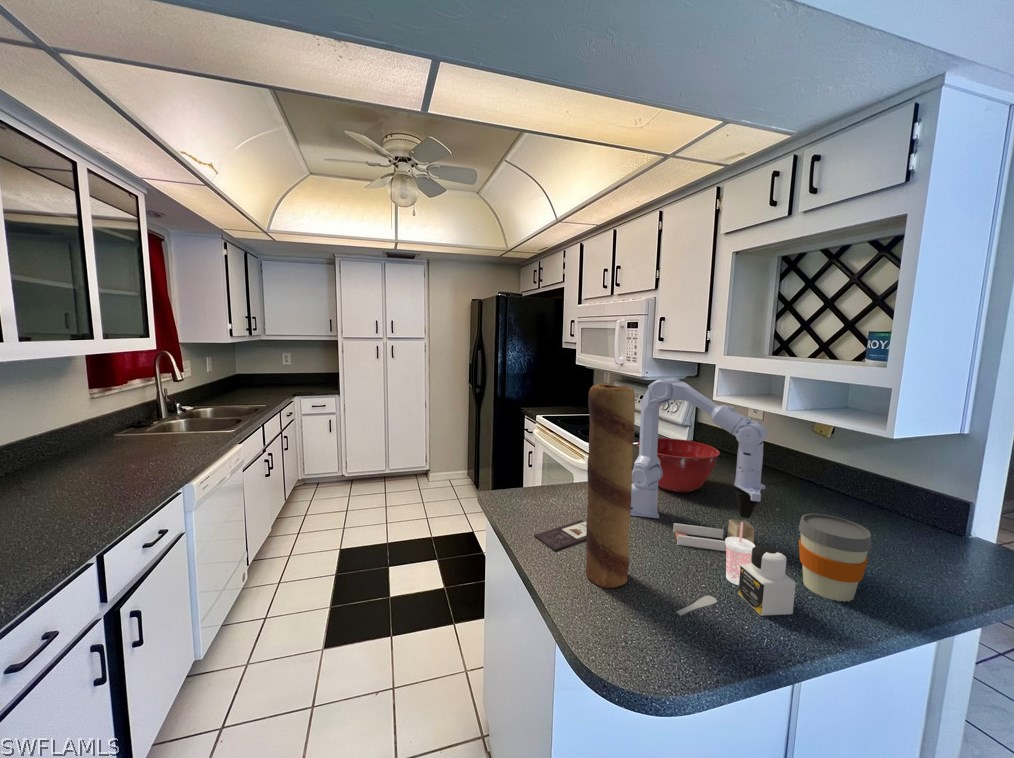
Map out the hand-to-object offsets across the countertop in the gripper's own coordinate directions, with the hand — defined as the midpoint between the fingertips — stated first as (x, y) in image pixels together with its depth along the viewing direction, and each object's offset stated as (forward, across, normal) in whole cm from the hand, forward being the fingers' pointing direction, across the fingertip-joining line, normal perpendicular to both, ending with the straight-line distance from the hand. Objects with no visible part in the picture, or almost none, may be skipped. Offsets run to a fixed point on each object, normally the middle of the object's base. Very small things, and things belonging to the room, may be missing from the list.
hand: (744, 516), depth 107 cm
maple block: (+8, +1, 0) cm, 9 cm away
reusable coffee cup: (+9, -15, -13) cm, 22 cm away
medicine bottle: (+9, -25, +2) cm, 27 cm away
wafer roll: (+9, -25, +36) cm, 44 cm away
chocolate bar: (+9, -8, +46) cm, 47 cm away
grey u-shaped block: (+8, 0, +10) cm, 13 cm away
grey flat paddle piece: (+9, -34, +21) cm, 41 cm away
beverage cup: (+9, -17, +6) cm, 20 cm away
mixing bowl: (+9, +43, +12) cm, 45 cm away
